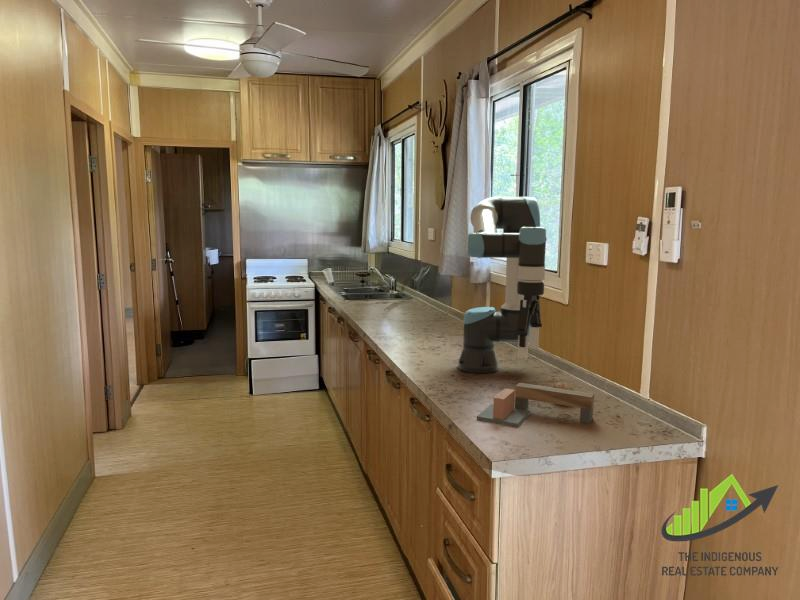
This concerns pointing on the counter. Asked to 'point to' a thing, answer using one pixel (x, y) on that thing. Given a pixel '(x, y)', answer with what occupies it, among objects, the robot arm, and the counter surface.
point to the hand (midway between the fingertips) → (528, 353)
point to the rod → (555, 395)
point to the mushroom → (563, 386)
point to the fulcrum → (504, 410)
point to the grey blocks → (585, 414)
